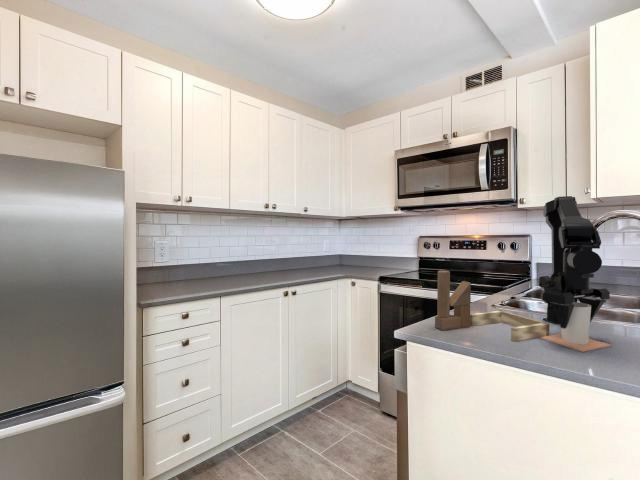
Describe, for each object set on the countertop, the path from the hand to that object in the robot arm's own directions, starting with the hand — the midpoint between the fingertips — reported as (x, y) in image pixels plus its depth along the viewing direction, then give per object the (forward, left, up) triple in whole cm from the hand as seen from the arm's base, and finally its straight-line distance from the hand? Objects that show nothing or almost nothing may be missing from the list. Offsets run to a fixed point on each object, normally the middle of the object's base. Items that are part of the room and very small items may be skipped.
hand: (575, 326), depth 91 cm
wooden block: (+21, -23, -5) cm, 32 cm away
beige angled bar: (+8, -15, -4) cm, 17 cm away
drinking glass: (0, 0, -4) cm, 4 cm away
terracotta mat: (0, 0, -4) cm, 4 cm away
